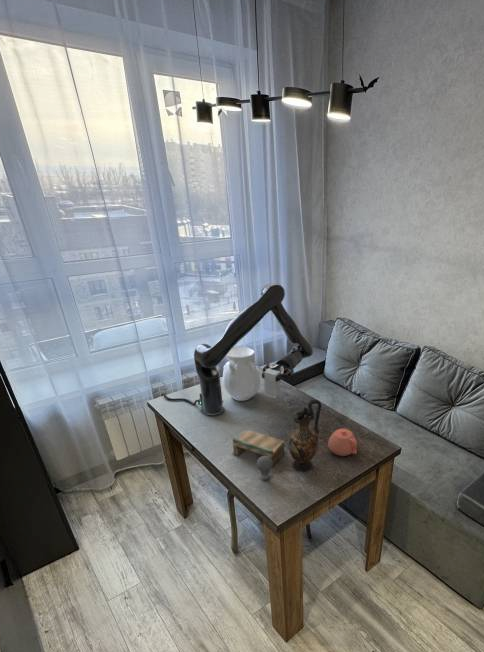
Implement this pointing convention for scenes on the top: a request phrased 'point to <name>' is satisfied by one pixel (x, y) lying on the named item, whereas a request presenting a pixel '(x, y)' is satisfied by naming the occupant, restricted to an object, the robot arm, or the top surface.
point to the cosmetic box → (272, 383)
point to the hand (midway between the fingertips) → (269, 377)
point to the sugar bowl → (342, 442)
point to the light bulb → (265, 466)
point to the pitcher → (241, 374)
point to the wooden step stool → (259, 445)
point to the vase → (304, 437)
